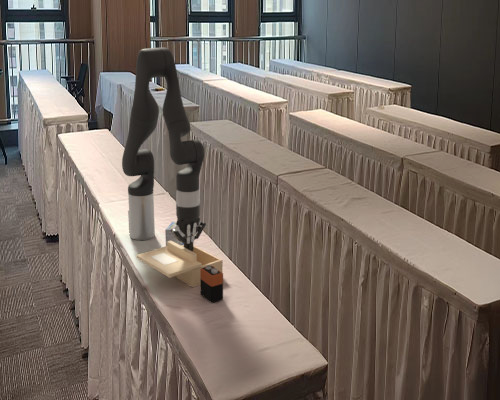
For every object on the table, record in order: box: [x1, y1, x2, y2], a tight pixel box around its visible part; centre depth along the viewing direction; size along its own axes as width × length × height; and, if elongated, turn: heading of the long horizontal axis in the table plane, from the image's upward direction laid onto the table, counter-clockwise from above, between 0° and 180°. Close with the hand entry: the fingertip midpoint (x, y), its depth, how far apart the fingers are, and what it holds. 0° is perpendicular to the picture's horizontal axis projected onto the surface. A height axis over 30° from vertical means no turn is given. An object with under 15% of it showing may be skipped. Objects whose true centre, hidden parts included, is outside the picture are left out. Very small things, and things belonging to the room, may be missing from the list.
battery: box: [200, 265, 224, 304], centre depth 191 cm, size 4×7×10 cm, turn 35°
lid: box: [136, 241, 202, 278], centre depth 200 cm, size 18×12×4 cm
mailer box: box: [174, 244, 224, 288], centre depth 208 cm, size 18×12×6 cm, turn 42°
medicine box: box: [164, 221, 184, 246], centre depth 226 cm, size 8×4×9 cm, turn 168°
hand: (188, 252), depth 206 cm, fingers closed
